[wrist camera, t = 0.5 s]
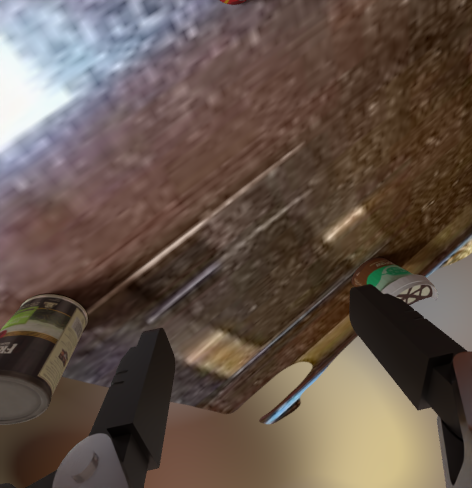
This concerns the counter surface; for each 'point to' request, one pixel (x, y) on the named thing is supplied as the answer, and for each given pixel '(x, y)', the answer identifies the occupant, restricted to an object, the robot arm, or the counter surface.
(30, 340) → the coffee can
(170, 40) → the counter surface
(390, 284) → the food container
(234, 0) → the soda can
